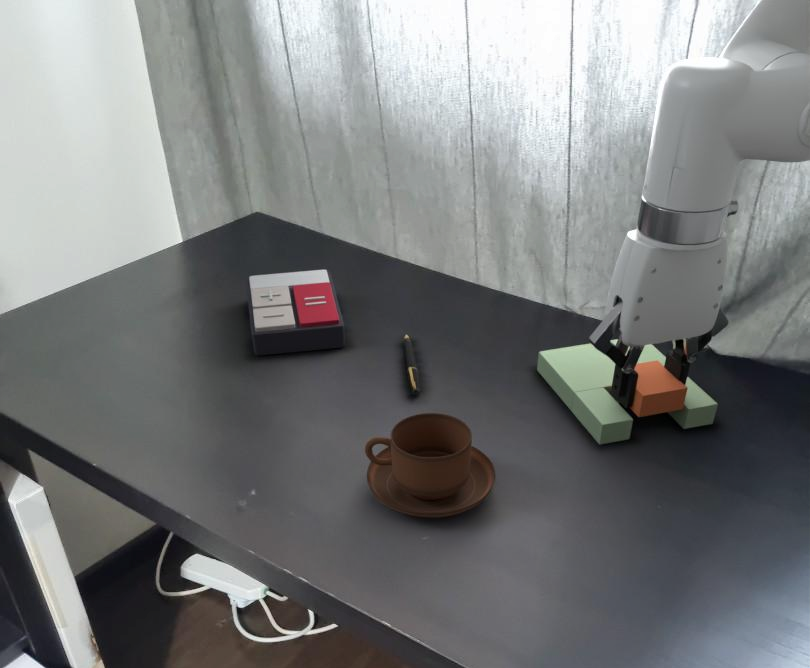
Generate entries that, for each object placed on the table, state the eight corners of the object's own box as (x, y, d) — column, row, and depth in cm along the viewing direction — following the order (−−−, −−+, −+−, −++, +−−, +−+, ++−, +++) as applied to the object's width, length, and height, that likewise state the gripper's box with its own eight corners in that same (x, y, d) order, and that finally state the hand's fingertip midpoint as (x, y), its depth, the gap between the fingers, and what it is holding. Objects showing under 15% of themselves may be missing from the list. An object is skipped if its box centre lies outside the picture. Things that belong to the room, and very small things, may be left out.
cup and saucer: (376, 536, 73) (373, 480, 69) (361, 459, 82) (357, 406, 78) (508, 522, 74) (512, 466, 70) (479, 447, 83) (481, 394, 79)
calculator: (250, 328, 96) (244, 271, 107) (255, 361, 99) (249, 302, 110) (344, 319, 97) (329, 264, 108) (346, 351, 100) (331, 294, 111)
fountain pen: (401, 339, 102) (401, 328, 101) (411, 338, 102) (410, 327, 101) (411, 400, 91) (411, 388, 90) (421, 399, 91) (421, 387, 90)
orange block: (653, 380, 88) (657, 360, 87) (683, 409, 84) (688, 387, 82) (611, 388, 87) (614, 367, 86) (638, 417, 83) (642, 395, 81)
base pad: (638, 353, 98) (641, 334, 96) (712, 423, 86) (718, 404, 85) (536, 370, 95) (538, 351, 94) (599, 444, 84) (602, 424, 82)
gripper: (741, 195, 78) (699, 367, 90) (576, 216, 75) (555, 392, 87) (790, 222, 73) (739, 401, 85) (614, 246, 69) (587, 429, 81)
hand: (646, 395), depth 85 cm, fingers closed on orange block, 4 cm apart
